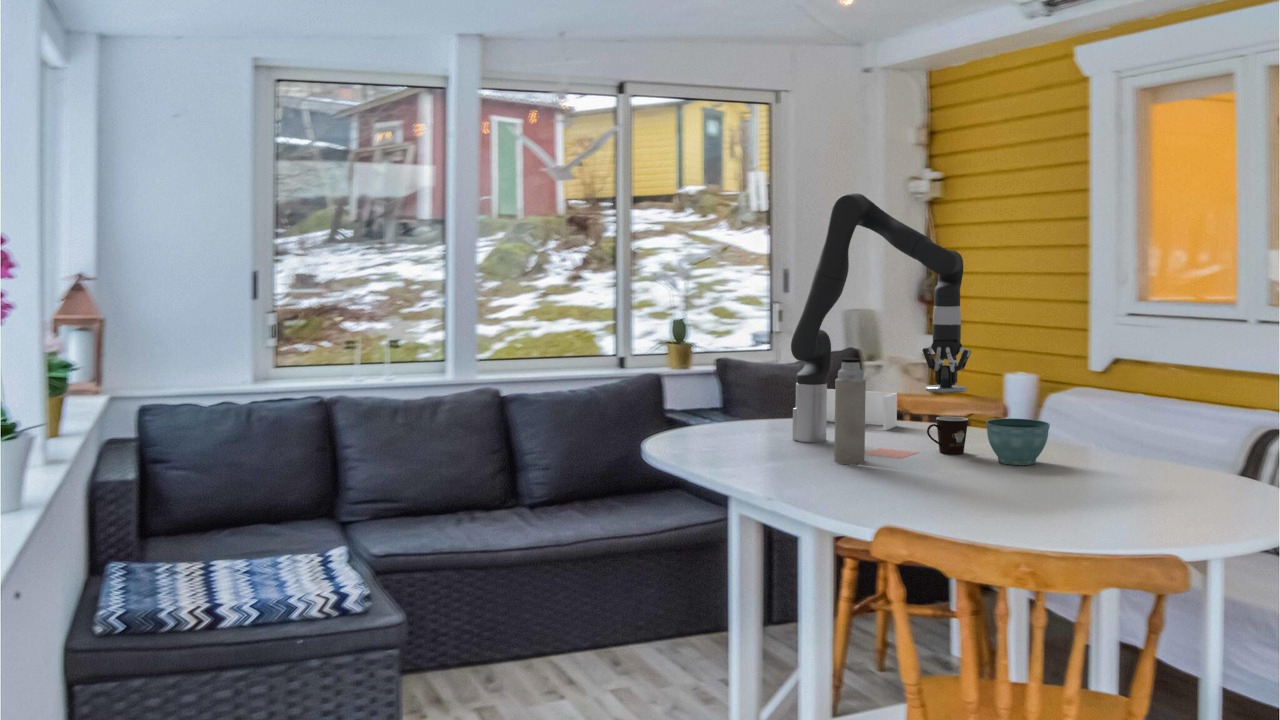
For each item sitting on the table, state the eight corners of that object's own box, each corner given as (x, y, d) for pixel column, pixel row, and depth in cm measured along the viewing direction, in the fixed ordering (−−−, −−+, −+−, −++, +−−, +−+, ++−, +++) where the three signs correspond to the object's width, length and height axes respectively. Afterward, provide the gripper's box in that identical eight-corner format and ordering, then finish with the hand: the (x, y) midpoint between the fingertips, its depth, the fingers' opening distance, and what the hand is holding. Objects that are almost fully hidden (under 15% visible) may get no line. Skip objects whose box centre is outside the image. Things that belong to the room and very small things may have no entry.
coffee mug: (964, 451, 324) (965, 416, 323) (970, 457, 316) (971, 421, 315) (922, 451, 326) (923, 416, 325) (927, 456, 317) (927, 420, 316)
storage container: (896, 426, 374) (897, 392, 373) (886, 431, 364) (886, 396, 363) (823, 421, 386) (823, 388, 385) (811, 425, 376) (812, 392, 375)
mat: (860, 455, 319) (860, 453, 319) (880, 449, 329) (880, 448, 329) (900, 459, 312) (900, 458, 312) (919, 453, 321) (919, 452, 321)
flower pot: (1017, 470, 296) (1018, 428, 295) (972, 460, 311) (973, 420, 310) (1062, 465, 304) (1063, 424, 303) (1016, 455, 318) (1017, 416, 317)
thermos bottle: (837, 458, 314) (838, 356, 312) (866, 460, 312) (868, 357, 309) (831, 463, 307) (833, 359, 304) (862, 465, 304) (863, 360, 301)
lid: (918, 391, 318) (918, 365, 317) (935, 387, 326) (936, 363, 326) (956, 393, 311) (956, 367, 310) (973, 389, 319) (973, 364, 319)
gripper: (917, 322, 319) (916, 384, 320) (965, 323, 310) (964, 387, 311) (929, 321, 324) (928, 382, 326) (976, 322, 315) (976, 385, 317)
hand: (946, 384), depth 318 cm, fingers closed on lid, 3 cm apart
